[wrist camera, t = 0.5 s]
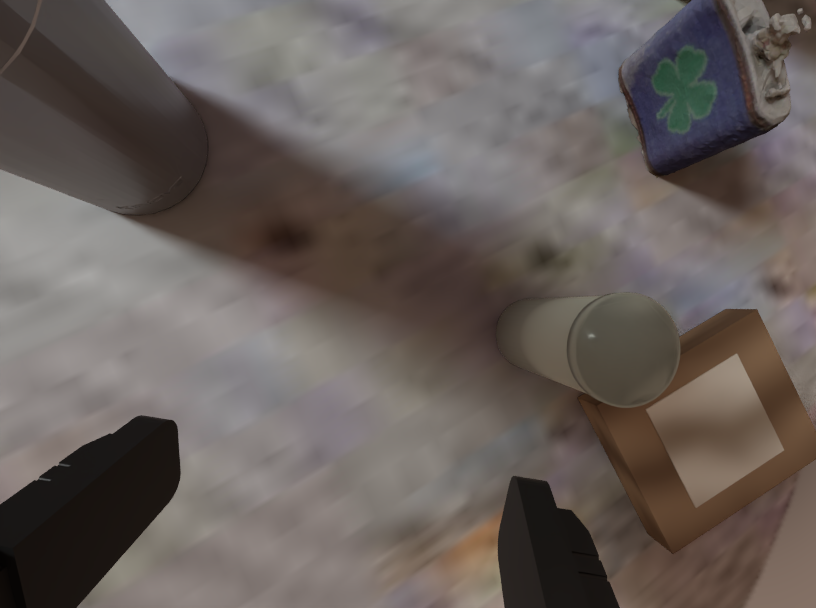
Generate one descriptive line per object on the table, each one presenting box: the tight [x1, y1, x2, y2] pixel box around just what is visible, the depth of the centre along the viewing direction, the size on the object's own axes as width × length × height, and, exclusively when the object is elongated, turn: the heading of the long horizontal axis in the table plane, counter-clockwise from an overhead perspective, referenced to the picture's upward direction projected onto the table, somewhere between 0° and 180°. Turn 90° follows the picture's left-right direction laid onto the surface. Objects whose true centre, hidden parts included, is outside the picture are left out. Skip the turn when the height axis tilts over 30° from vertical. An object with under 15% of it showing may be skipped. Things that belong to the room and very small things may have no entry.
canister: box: [496, 293, 680, 408], centre depth 24 cm, size 5×5×11 cm
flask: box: [618, 0, 811, 178], centre depth 26 cm, size 9×3×11 cm, turn 19°
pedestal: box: [578, 309, 816, 554], centre depth 30 cm, size 12×14×3 cm
